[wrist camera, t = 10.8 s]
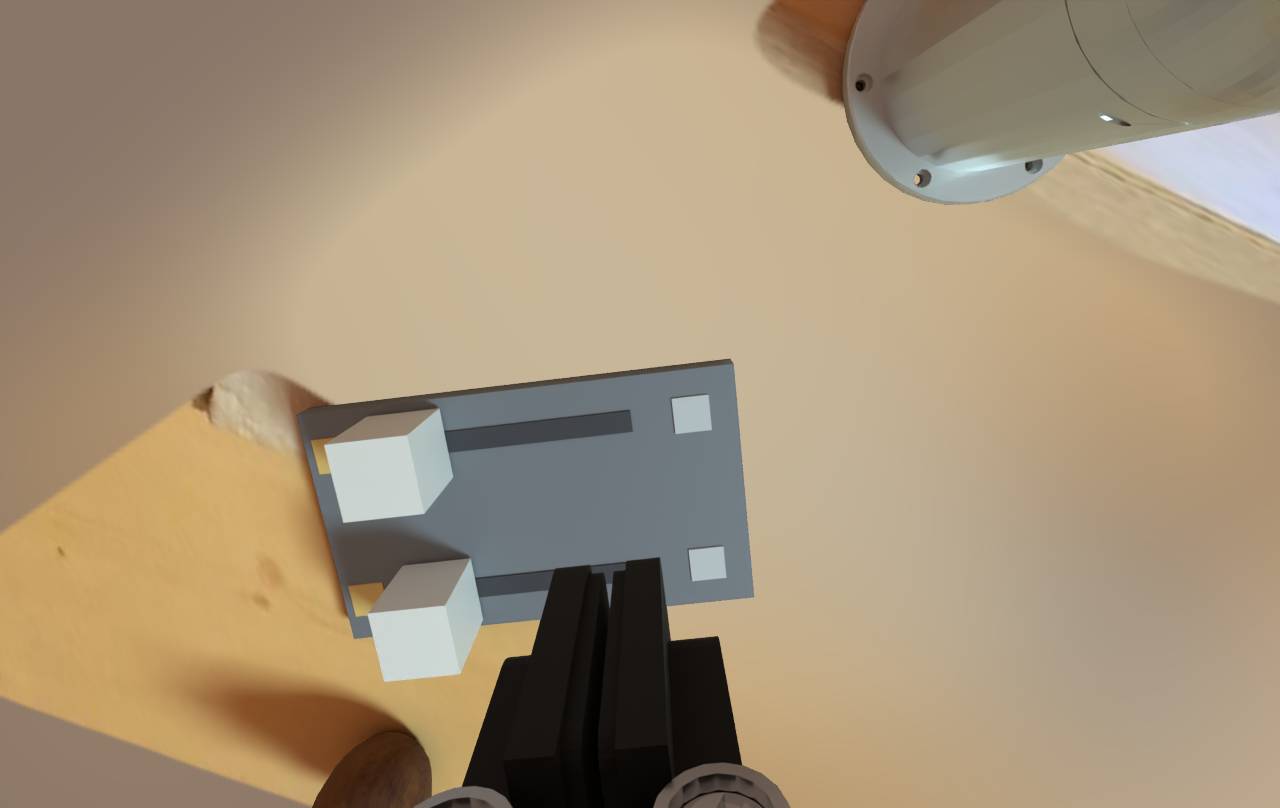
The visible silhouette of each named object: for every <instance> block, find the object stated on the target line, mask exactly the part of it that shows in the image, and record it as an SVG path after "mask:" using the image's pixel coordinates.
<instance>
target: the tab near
mask: <svg viewBox="0 0 1280 808" xmlns="http://www.w3.org/2000/svg"><path fill="white" fill-rule="evenodd" d="M324 447H325V451H326V455H327V459H328V463H329V467H330V471H331V475H332V479H333V483H334V487H335V491H336V495H337V499H338V503H339V507H340V511H341V515H342V519H343V523H347V522H356V521H365V520H374V519H383V518H392V517H401V516H410V515H419V514H425V512H426V511H427V510H428V508H429V507H430V506H431V505H432V503H433V502H434V501H435V500H436V498H437V497H438V496H439V495H440V493H441V492H442V491H443V490H444V488H445V487H446V486H447V485H448V483H449V482H450V481H451V479H452V478H453V473H452V468H451V463H450V458H449V453H448V448H447V443H446V438H445V434H444V429H443V424H442V419H441V414H440V409H439V408H437V409H428V410H419V411H411V412H402V413H394V414H385V415H377V416H368V417H366V418H364V419H363V420H361V421H360V422H358V423H357V424H355V425H354V426H352V427H351V428H349V429H347V430H346V431H344V432H343V433H341V434H340V435H338V436H337V437H335V438H334V439H332V440H331V441H329V442H328V443H326V444H324Z"/></svg>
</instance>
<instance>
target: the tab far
mask: <svg viewBox="0 0 1280 808" xmlns="http://www.w3.org/2000/svg"><path fill="white" fill-rule="evenodd" d="M367 614H368V618H369V622H370V626H371V630H372V634H373V638H374V642H375V646H376V650H377V654H378V658H379V662H380V666H381V670H382V674H383V678H384V682H387V681H397V680H407V679H417V678H427V677H437V676H447V675H457V674H460V673H461V671H462V668H463V666H464V664H465V661H466V659H467V657H468V654H469V652H470V650H471V647H472V645H473V642H474V640H475V638H476V635H477V633H478V631H479V628H480V626H481V623H482V621H483V616H482V611H481V606H480V602H479V597H478V592H477V587H476V582H475V577H474V572H473V567H472V562H471V558H469V559H459V560H450V561H441V562H431V563H422V564H413V565H404V566H402V567H401V569H400V570H399V571H398V573H397V574H396V575H395V577H394V578H393V579H392V581H391V582H390V584H389V585H388V586H387V588H386V589H385V590H384V592H383V593H382V594H381V596H380V597H379V599H378V600H377V601H376V603H375V604H374V605H373V607H372V608H371V609H370V611H369V612H368V613H367Z"/></svg>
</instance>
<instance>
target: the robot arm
mask: <svg viewBox="0 0 1280 808" xmlns="http://www.w3.org/2000/svg"><path fill="white" fill-rule="evenodd" d="M856 82H861V83H862V85H863V90H862V91H861V92H860V91H858V90H856V87H855V83H856ZM843 101H844V107H845V112H846V118H847V122H848V124H849V127H850V130H851V132H852V135H853V138H854V140H855V143H856V145H857V146H858V148H859V149H860V151H861V152H862V154H863V156H864V157H865V159H866V160H867V162H868V163H869V164H870V165H871V167H872V168H873V169H874V170H875V171H876V172H877V173H878V174H879V175H880V176H881V177H882V178H883V179H884V180H886V181H887V182H888V183H890V184H891V185H893V186H894V187H896V188H897V189H899V190H900V191H902V192H903V193H906V194H908V195H911V196H913V197H916V198H918V199H921V200H923V201H928V202H934V203H940V204H945V205H953V204H973V203H980V202H987V201H991V200H994V199H998V198H1001V197H1004V196H1007V195H1010V194H1013V193H1015V192H1017V191H1019V190H1020V189H1022V188H1024V187H1026V186H1028V185H1030V184H1032V183H1034V182H1035V181H1037V180H1038V179H1039V178H1041V177H1042V176H1043V175H1044V174H1046V173H1047V172H1048V171H1050V170H1051V169H1052V168H1053V167H1055V166H1056V165H1057V164H1058V163H1059V162H1060V161H1061V160H1062V158H1063V157H1064V156H1065V155H1066V154H1070V153H1076V152H1081V151H1086V150H1091V149H1096V148H1102V147H1107V146H1112V145H1117V144H1123V143H1128V142H1133V141H1138V140H1143V139H1149V138H1154V137H1159V136H1164V135H1170V134H1175V133H1180V132H1185V131H1190V130H1196V129H1201V128H1206V127H1211V126H1217V125H1222V124H1226V123H1230V122H1236V121H1241V120H1246V119H1251V118H1256V117H1261V116H1266V115H1271V114H1276V113H1280V0H866V1H865V3H864V5H863V7H862V8H861V10H860V12H859V14H858V16H857V17H856V20H855V23H854V26H853V29H852V31H851V34H850V37H849V40H848V43H847V48H846V53H845V59H844V64H843ZM1026 162H1027V163H1028V168H1027V170H1026V169H1025V163H1026ZM915 175H918V176H919V177H920V182H919V183H918V185H916V184H915V183H914V176H915ZM414 808H790V806H789V804H788V802H787V800H786V799H785V797H784V796H783V794H782V793H781V791H780V789H779V788H778V786H777V785H775V784H774V783H773V782H772V781H770V780H769V779H768V778H767V777H765V776H764V775H763V774H762V773H759V772H757V771H754V770H753V769H750V768H748V767H746V766H743V765H742V762H741V756H740V752H739V745H738V741H737V735H736V730H735V723H734V718H733V713H732V707H731V702H730V696H729V691H728V685H727V680H726V674H725V669H724V663H723V658H722V653H721V647H720V641H719V638H718V636H715V637H705V638H696V639H686V640H676V641H671V638H670V630H669V623H668V614H667V606H666V598H665V590H664V582H663V574H662V566H661V560H660V557H657V558H648V559H638V560H629V561H626V568H625V570H621V571H614V572H613V582H612V592H611V603H610V606H609V599H608V592H607V586H606V580H605V575H604V573H592V569H591V566H590V565H582V566H573V567H563V568H555V570H554V573H553V576H552V580H551V584H550V587H549V591H548V595H547V598H546V602H545V606H544V610H543V613H542V617H541V621H540V624H539V628H538V632H537V635H536V639H535V643H534V646H533V650H532V654H531V655H529V656H519V657H509V658H507V659H505V661H504V663H503V665H502V668H501V671H500V674H499V677H498V680H497V683H496V686H495V689H494V692H493V695H492V698H491V701H490V704H489V707H488V710H487V713H486V716H485V719H484V722H483V725H482V728H481V731H480V734H479V737H478V740H477V743H476V746H475V749H474V752H473V755H472V758H471V761H470V764H469V767H468V770H467V773H466V776H465V779H464V782H463V785H462V787H459V788H453V789H450V790H447V791H444V792H441V793H439V794H436V795H434V796H432V797H430V798H428V799H427V800H425V801H423V802H421V803H420V804H418V805H416V806H415V807H414Z"/></svg>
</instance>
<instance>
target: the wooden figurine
mask: <svg viewBox="0 0 1280 808" xmlns="http://www.w3.org/2000/svg"><path fill="white" fill-rule="evenodd" d="M430 797H432V774H431V766H430V761H429V758H428V756H427V754H426V753H425V751H424V749H423V748H422V747H421V746H420V745H419V743H418V742H417V741H416V740H415V739H414V738H411V737H409V736H407V735H405V734H403V733H397V732H385V733H380V734H376V735H374V736H372V737H371V738H369V739H368V740H366V741H364V742H363V743H361V744H359V745H358V746H356V747H355V748H354V749H352V750H351V751H350V752H349V753H348V754H347V755H346V756H345V757H344V758H343V759H342V760H341V761H340V763H339V764H338V765H337V766H336V767H335V769H334V770H333V772H332V773H331V775H330V776H329V778H328V779H327V781H326V783H325V784H324V786H323V787H322V789H321V791H320V792H319V794H318V796H317V798H316V800H315V802H314V805H313V807H312V808H414V807H415V806H416V805H418V804H420V803H421V802H423V801H425V800H427V799H428V798H430Z"/></svg>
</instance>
